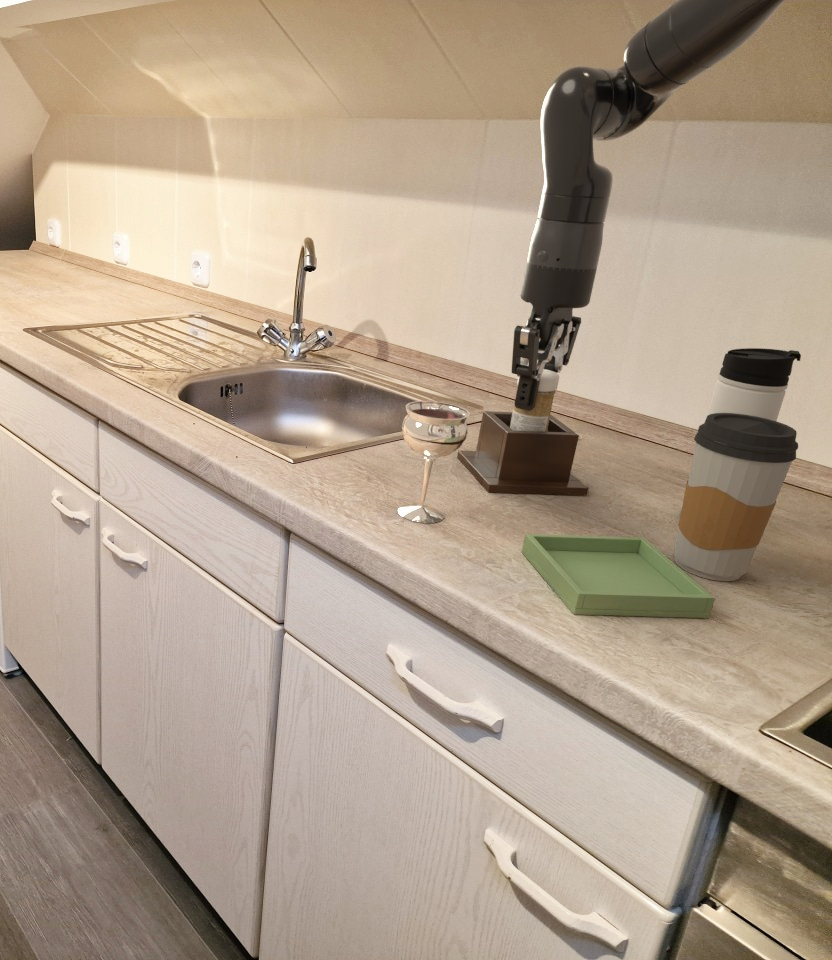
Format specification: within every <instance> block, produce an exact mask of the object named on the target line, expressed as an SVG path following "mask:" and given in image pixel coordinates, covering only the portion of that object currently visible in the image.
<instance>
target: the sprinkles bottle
mask: <svg viewBox="0 0 832 960" xmlns="http://www.w3.org/2000/svg"><path fill="white" fill-rule="evenodd" d="M519 378H520V377H518V376H517V382H516V385H517V387H516V389H517V388H518V383H519ZM559 382H560V374H559V373H556V372H553V371H550V370H546V369H543V372H542V376H541V378H540V383H539V388H538V393H537V398H536V403H535V407H534V409H532V410H530V411H527V410H523V409H519V408H516V407H515V404H514V406H513V408H512V412H513V413H512V418H511V424H510V428H511V429H512V430H514V431H541V432H548V424H549V419H550V414H552V410H553V408H552V407H553V403H554V398H555V394H556V393H557V392H556V391H557V390H558V386H559Z"/></svg>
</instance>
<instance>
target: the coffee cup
mask: <svg viewBox="0 0 832 960" xmlns="http://www.w3.org/2000/svg"><path fill="white" fill-rule="evenodd" d="M797 434H798V432H797V430H796V429H795V428H793V427H791V426H789V425H788V424H785V423H783V422H781V421H773V420H770V419H765V418H761V417H756V416H750V415H744V414H735V413H714V414H710V415H708V416H707V415H706V417H705V421H704V423H702V424H700V425H699V426H698V428H697V432H696V434H695V436H694V439H693V440H694V442H695V445H694V450H693V455H692V459H691V466H690V470H689V476H688V480H687V481H686V484H685V490H684V495H683V499H682V503H683V504H682V503H681V506H682V509H681V508H680V509H681V514H680V516H679V518H678V519H679V520H678V525H677V526H678V530H677V535H676V539H675V545H674V550H673V556H674V558H675V560H674V561H675V564H676V565H677V566H678V567H679V568H680V569H681V570H683V571H684V572H686V573H690V574H691V575H694V576H696V577H699V578H703V579H707V580H711V581H718V582H734V581H738V580H740V579H741V578H742V576H744V575H745V574H746V573H747V571H748V569H749V567H750V564H751V561H752V559H753V557H754V555H755V552H756V550H757V547H758V546H759V544H760V543H761V540H762V537H763V536H764V533H765V531H766V529H767V526H768V524H769V521H770V519H771V516H772V514H773V511H774V510H775V506H776V505H777V499H778V496H779V494H780V492H781V490H782V487H783V485H784V481H785V480H786V477H787V475H788V472H789V470H790V468H791V466H792V463H793V461H795V460H796V459H797V450H798V449H799V443H798V442H797V440H796V438H797Z"/></svg>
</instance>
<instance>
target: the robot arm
mask: <svg viewBox="0 0 832 960" xmlns="http://www.w3.org/2000/svg"><path fill="white" fill-rule="evenodd" d="M785 2H786V0H676V1H673V3H671V4H670V5H669V6H668V7H666V8H665V9H664V10H662V11H661V12H660V13H659V14H657V15H655V17H653V18H651V20H649V21H648V22H647V23H645V24H644V25H643V26H641V27H640V29H638V30H637V31H636V32H634V34H633V35H631V37H630V38H629V40H628V41H627V44H626V45H625V47H624V51H623V65H621V66H620V67H618V68H616V69H611V68H604V67H603V68H602V67H593V66H582V65H581V66H579V65H578V66H573V67H570V68H568V69H566V70H564V71H562V72H561V73H560V74H559V75H558V76H556V78H555V79H554V80H553V82H552V83H551V85H550V86H549V88H548V90H547V92H546V94H545V96H544V99H543V102H542V107H541V111H540V138H541V151H542V154H541V155H542V166H543V169H542V170H543V180H544V181H543V185H542V186H543V187H542V191H541V192H542V193H541V197H540V202H539V207H538V212H537V213H538V214H537V219H536V221H535V222H536V223H535V226H534V228H533V231H532V235H531V238H530V243H529V248H528V253H527V259H526V262H525V263H526V264H525V270H524V274H523V279H522V280H523V281H522V285H521V289H520V298H521V300H522V301H523V302H525V303H529V304H530V305H531V306H532V309H531V310H530V313H529V316H528V319H527V321H526V324H525V326H523V325H516V326H515V328H514V331H513V343H512V356H511V357H512V358H511V374H513V375H516V377H517V378H518V377H520V378H519V383H518V385H517V386H518V388H517V387H516V394H515V399H514V405H515V407H516V408H519V409H523V410H527V411H530V410H532V409H534V407H535V403H536V398H537V393H538V388H539V383H540V378H541V376H542V372H543V369H546V370H550V371H553V372H556V373H557V374H560V373H561V372H562V370H563V366H565V367H566V366H568V364H570V363H569V362H570V358H571V355H572V353H573V349H574V347H575V344H576V339H577V335H578V333H579V330H580V326H581V324H582V317H580V316H575V315H573V310H574V309H581V308H585V307H587V306H588V305H589V304H590V303H591V297H592V294H593V293H592V292H593V288H594V283H595V280H596V274H597V269H598V265H599V261H600V256H601V253H602V252H601V251H602V245H603V237H604V226H605V222H606V216H607V214H608V213H607V212H608V207H609V204H610V197H611V194H612V188H613V179H614V178H613V173H612V171H611V170H610V169H609V168H607V167H606V166H604V165H601V164H599V163H597V162H596V160H595V153H594V141H597V142H599V141H601V142H608V141H614V140H616V139H620V138H622V137H624V136H626V135H628V134H630V133H632V132H633V131H635V130H636V129H638V128H640V127H641V126H642V125H643V124H644V123H645V122H646V121H648V120H649V119H650V118H651V117H652V116H653V115H654V114H655V113H656V112H657V111H658V110H659V109H660V108H661V107H662V106H663V105H664V104H665V103H666V102H667V101H668V100H669V99H670V97H672V95H673V94H674V93H675V92H676V91H677V90H678V89H680V88H681V87H683V86H685V85H686V84H688V83H689V82H691V81H693V80H694V79H696V78H697V77H699V76H700V75H702V74H703V73H705V72H706V71H709V69H711V68H713V67H714V66H715V65H717V64H718V63H720V62H721V61H724V60H725V59H726V58H727V57H729V56H731V54H733V53H735V52H736V51H737V50H738V49H739V48H741V47H742V46H743V45H744V44H746V43H747V42H748V41H749V40H750V39H752V37H753V36H755V35H756V33H758V31H759V30H761V28H762V27H763V26H764V25H765V24H766V23H767V22H768V20H769V19H771V17H772V16H773V15H774V14H775V12H777V10H779V8H780V7H781V6H782V5H783V4H784V3H785Z"/></svg>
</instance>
